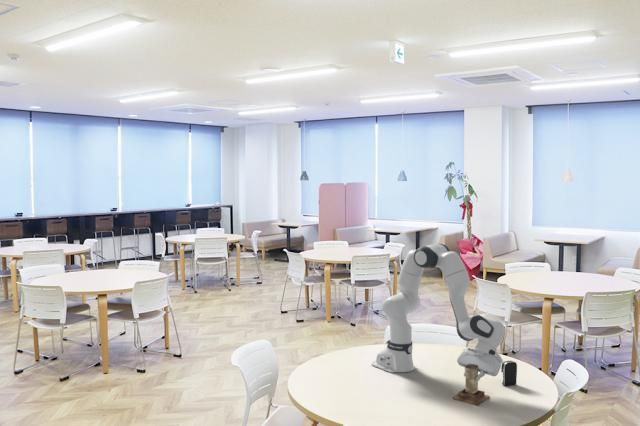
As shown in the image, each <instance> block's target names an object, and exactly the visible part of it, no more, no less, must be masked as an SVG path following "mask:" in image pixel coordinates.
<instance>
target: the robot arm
mask: <svg viewBox="0 0 640 426" xmlns="http://www.w3.org/2000/svg"><path fill="white" fill-rule="evenodd" d="M431 268H432V269H434V268H438V269H440V271H441V273H442V276H443V278H444V281H445V284H446V286H447V290H448V295H449V296H448V297H449V300H450V304H451V308H452V311H453V313H454V317H455V322H456V333H457V335H458V336H459V338H460V339H462V340H464V341H465V342H471V341H473V340H475V339H477V340H478V342H477V344H476V346H475V348H470V347H467V348H464V349H463V351H462V352H461V353H460V354H459V356H458V357H457V359H456V361H457V364H458V365H459V366H460V367H463V368H464V373H463V376H464V377H465V378H466V365H468V364H475V365H478V368H477V369H478V375H476V376H475V380H477V381H478V382H479V381H480V380H481V378H482V377H484V376H485V375H488V376H492V377H496V376H498V375H499V373H500V370H501V367H502V363H503V362H504V360H503V358H502V356H501V355H500V354H499V353H498V352H497V351H498V347H499V346H500V345H501V343H502V342H503V339H504V336H505V333H506V327H505V326H504V323H502V322H501V321H500V320H498V319H489V318H486V317H483V316H482V315H474V316H471V317H470V316H469V312H468V309H467V306H466V303H465V295H466V293H467V292H468V290H469V287H470V284H471V281H470V276H469V273H468V270H467V268H466V266H465V264H464V261H463V260H462V258H461V257H460V255H459V254H458V253H457V252H456V251H451V249H450V248H449V246H447V245H446V244H443V243H432V244H427V245H425V246H424V245H423V246H419V247H418V248H417V249H411V250H409V251H408V253H407V254H406V256H405V258H404V260H403V263H402V265H401V269H400V272H399V274H398V277H397V285H398V286H399V290H398V293H397V294H393V295H390V296H389V297H387V298H385V299H384V300H383V301H382V303H381V311H382V312H383V314H384V315H385V317H387V322H388V323H389V324H388V325H389V339H388V340H387V341H386V342H385V345H387V346H386V347H384V348H383V349H381V350H380V351H379V352H378V353H377V354H376V359H375V360H373V361H372V362H371V366H373V367H376V368H378V369H380V370H384V371H386V372H388V373H391V374H392V373H393V374H394V373H407V372H408V373H409V372H412V371H414V370H415V365H414V361H413V340H412V335H413V334H412V332H413V330H412V328H413V327H412V326H411V324H410V323H409V322H408V318H407V315H408V314H411V313H414V312H415V311H416V310H417V309H418V308H419V307H420V306H421V300H420V297H419V287H420V283H421V281H422V277H423V274H424V271H425V269H431Z"/></svg>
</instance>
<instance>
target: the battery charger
mask: <svg viewBox="0 0 640 426" xmlns="http://www.w3.org/2000/svg"><path fill="white" fill-rule="evenodd" d="M500 370H501V371H500V372H501V373H502V377H503V379H502V382H501V384H502V385H503V386H504V387H511V386H516V385H517V379H518V374H517V373H518V364H517V362H516V361H513V360H504V361H503V362H502V363H501V368H500Z"/></svg>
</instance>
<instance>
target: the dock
mask: <svg viewBox="0 0 640 426" xmlns="http://www.w3.org/2000/svg"><path fill="white" fill-rule="evenodd" d="M465 389H466V387H465V388H462V389H461V390H460V391H458V392H457V393H456V394H455V395H453V396H452V400H457V401H460V402H463V403H467V404H471V405H475V406H477V407H478V406H480V405H481V404H483V403H484V402H485V401H486V400H488V399H490V396H491V395H488V394H485V391H484V390H479V389H478V392H476V393H474V394H472V393H468V392H465Z"/></svg>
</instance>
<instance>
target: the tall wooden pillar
mask: <svg viewBox="0 0 640 426" xmlns="http://www.w3.org/2000/svg"><path fill="white" fill-rule="evenodd" d="M477 368H478V365H475V364H468V365H466V377H465V388H466V389H465V388H464V389H465V392H468V393H472V394H474V393H476V392H478V390H479V381H477V380H475V376H476V375H479V372H478V369H477Z"/></svg>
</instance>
